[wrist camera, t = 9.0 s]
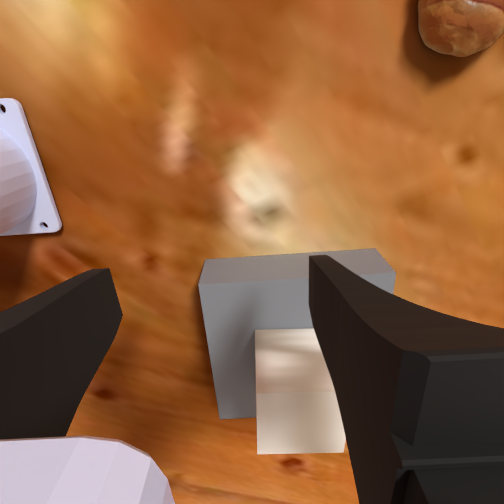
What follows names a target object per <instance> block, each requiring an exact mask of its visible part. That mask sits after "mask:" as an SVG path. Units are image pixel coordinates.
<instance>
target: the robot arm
mask: <svg viewBox="0 0 504 504" xmlns="http://www.w3.org/2000/svg"><path fill="white" fill-rule="evenodd" d="M1 105H4V107H5V108H6V112H5V113H4V112H3V111H2V110H1ZM43 222H45V223H46V224H47V225H48V227H45V226H44V224H43ZM61 227H62V223H61V220H60V217H59V214H58V211H57V208H56V205H55V202H54V199H53V196H52V193H51V190H50V187H49V184H48V181H47V178H46V175H45V172H44V169H43V167H42V164H41V161H40V158H39V155H38V152H37V149H36V146H35V143H34V140H33V137H32V134H31V131H30V128H29V125H28V122H27V119H26V116H25V113H24V111H23V108H22V106H21V104H20V103H19V102H18V101H17V100H15V99H12V98H4V99H0V236H6V235H21V234H36V233H51V232H57V231H58V230H60V229H61ZM309 309H310V314H311V319H312V324H313V328H314V331H315V334H316V337H317V340H318V343H319V345H320V348H321V351H322V354H323V357H324V360H325V362H326V365H327V368H328V371H329V374H330V377H331V380H332V383H333V386H334V390H335V393H336V397H337V402H338V406H339V410H340V414H341V419H342V423H343V428H344V432H345V437H346V441H347V446H348V450H349V455H350V460H351V464H352V469H353V474H354V479H355V484H356V488H357V493H358V498H359V504H504V328H499V327H494V326H489V325H484V324H480V323H476V322H472V321H468V320H464V319H460V318H457V317H453V316H450V315H446V314H443V313H440V312H437V311H434V310H431V309H428V308H425V307H422V306H419V305H417V304H414V303H412V302H409V301H407V300H404V299H402V298H400V297H398V296H395V295H393V294H391V293H389V292H387V291H385V290H383V289H381V288H379V287H377V286H375V285H374V284H372V283H370V282H368V281H367V280H365V279H363V278H362V277H360V276H358V275H357V274H355V273H354V272H352V271H350V270H349V269H347V268H346V267H344V266H343V265H342V264H340V263H339V262H337V261H336V260H334V259H333V258H331V257H330V256H328V255H312V256H309ZM122 316H123V314H122V311H121V307H120V304H119V300H118V297H117V293H116V290H115V286H114V283H113V280H112V276H111V273H110V269H109V268H105V269H92V270H89V271H86V272H84V273H81V274H79V275H77V276H75V277H73V278H70V279H68V280H66V281H64V282H62V283H60V284H58V285H56V286H54V287H52V288H50V289H48V290H46V291H44V292H42V293H41V294H38V295H36V296H34V297H32V298H30V299H28V300H26V301H24V302H22V303H20V304H17V305H15V306H13V307H11V308H9V309H7V310H5V311H2V312H0V504H175V502H174V499H173V496H172V493H171V489H170V486H169V483H168V479H167V478H166V477H165V475H164V474H163V472H162V471H161V470H160V468H159V467H158V466H157V464H156V463H155V462H154V460H153V459H152V458H151V457H150V455H149V454H148V453H146V452H144V451H142V450H140V449H138V448H136V447H134V446H132V445H130V444H128V443H126V442H124V441H122V440H119V439H111V438H103V437H94V436H86V435H85V436H66V434H67V431H68V429H69V427H70V424H71V422H72V419H73V417H74V415H75V412H76V410H77V408H78V405H79V403H80V401H81V399H82V397H83V395H84V393H85V391H86V389H87V388H88V386H89V384H90V382H91V380H92V379H93V377H94V375H95V373H96V371H97V370H98V368H99V366H100V364H101V362H102V361H103V359H104V357H105V355H106V353H107V351H108V349H109V348H110V346H111V344H112V342H113V340H114V338H115V335H116V333H117V330H118V328H119V325H120V322H121V319H122Z"/></svg>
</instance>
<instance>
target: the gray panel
mask: <svg viewBox="0 0 504 504" xmlns="http://www.w3.org/2000/svg"><path fill="white" fill-rule="evenodd" d="M312 255H328V256H330V257H331V258H333V259H334V260H336V261H337V262H339V263H340V264H342V265H343V266H344V267H346V268H347V269H349V270H350V271H352V272H354V273H355V274H357V275H358V276H360V277H362V278H363V279H365V280H367V281H368V282H370V283H372V284H374V285H375V286H377V287H379V288H381V289H383V290H385V291H387V292H389V293H391V294H393V290H394V283H395V276H396V272H395V271H394V270H393V268H392V267H391V266H390V265H389V264H388V263H387V261H386V260H385V259H384V258H383V257H382V256H381V254H380V253H379V252H378V251H377V250H376V249H359V250H344V251H328V252H313V253H297V254H282V255H266V256H251V257H236V258H220V259H205V263H204V266H203V270H202V273H201V277H200V280H199V284H198V286H199V293H200V299H201V305H202V311H203V318H204V324H205V330H206V336H207V342H208V349H209V355H210V361H211V367H212V374H213V380H214V386H215V392H216V399H217V405H218V411H219V417H220V419H233V418H252V417H256V374H255V330H263V329H312V328H313V324H312V319H311V314H310V309H309V256H312Z"/></svg>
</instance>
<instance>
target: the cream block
mask: <svg viewBox="0 0 504 504" xmlns="http://www.w3.org/2000/svg"><path fill="white" fill-rule="evenodd" d="M255 374H256V417H257V454H290V453H338V452H344V446H345V440H346V437H345V432H344V428H343V423H342V419H341V414H340V410H339V406H338V402H337V397H336V393H335V390H334V386H333V383H332V380H331V377H330V374H329V371H328V368H327V365H326V362H325V360H324V357H323V354H322V351H321V348H320V345H319V343H318V340H317V337H316V334H315V331H314V328H312V329H263V330H255Z"/></svg>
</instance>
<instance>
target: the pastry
mask: <svg viewBox="0 0 504 504" xmlns="http://www.w3.org/2000/svg"><path fill="white" fill-rule="evenodd" d="M418 29H419V34H420V36H421V38H422V40H423V43H424V44H425V45H426V46H427V47H429V48H431V49H432V50H434V51H436V52H438V53H441V54H448V55H453V56H457V57H466V56H470V55H472V54H474V53H477V52H479V51H481V50H484V49H486V48H489V47H490V46H491V45H492V44H493V43H494V42H495V41H496V40H497V38H499V37H500V36H501V35H502V34H503V33H504V0H419V1H418Z"/></svg>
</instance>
